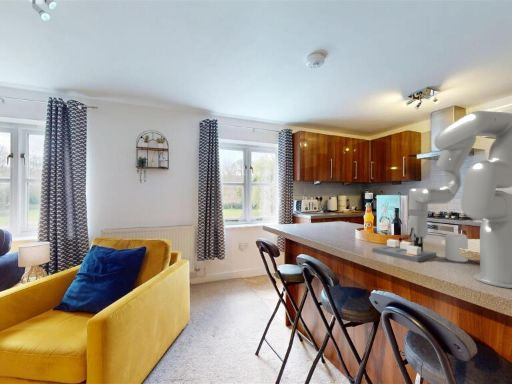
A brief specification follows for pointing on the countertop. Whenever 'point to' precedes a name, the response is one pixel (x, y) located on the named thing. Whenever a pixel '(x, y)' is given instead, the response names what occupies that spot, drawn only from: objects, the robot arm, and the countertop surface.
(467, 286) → the countertop surface
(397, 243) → the knob
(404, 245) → the knob
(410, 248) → the knob
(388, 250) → the switch panel
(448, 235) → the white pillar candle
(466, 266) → the countertop surface
